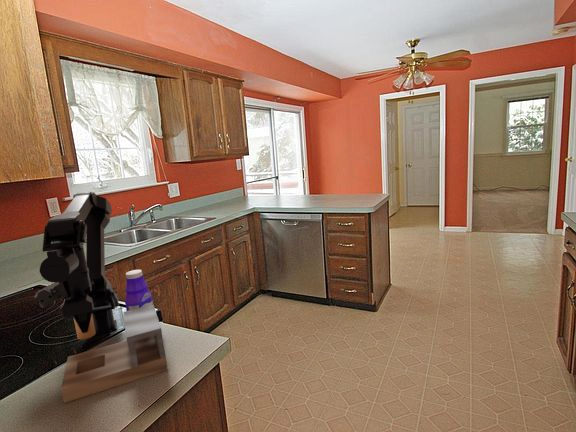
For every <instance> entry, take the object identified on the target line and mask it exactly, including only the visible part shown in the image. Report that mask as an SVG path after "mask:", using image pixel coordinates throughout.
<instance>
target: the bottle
mask: <svg viewBox="0 0 576 432" xmlns="http://www.w3.org/2000/svg"><path fill="white" fill-rule="evenodd" d="M125 278H126V279H125V280H126V285H125V289H124V291H125V292H126V296H125V299H124V304H125V309H126V311H130V310H134V309H138V308H142V307H146V306H150V305H154V302H153V297H152V293H151V290H150V289H149V288H148V286H149V285H148V283H147V282H146V281H145V279H144V275H143V271H142V269H133V270H130V271H127V272H126V273H125Z"/></svg>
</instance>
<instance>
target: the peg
mask: <svg viewBox="0 0 576 432" xmlns="http://www.w3.org/2000/svg"><path fill="white" fill-rule="evenodd" d="M72 318H73V321H74V326H75V332H76V337H77V339H78V340H86V339H89V338H92V337H94V335H95V334H96V331H95V326H94V321H93V316H92V315H91V320H90V324H89V328H88V332H86V333H82V331H81V329H80V328H79V326H78V324H77V322H76V321H75V319H74V317H73V316H72ZM95 336H96V335H95Z"/></svg>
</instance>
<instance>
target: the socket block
mask: <svg viewBox="0 0 576 432" xmlns="http://www.w3.org/2000/svg"><path fill="white" fill-rule="evenodd" d="M123 320H124V321H123V322H124V330H125V338H126V339H125V340H123V341H119V342H116V343H113V344H109V345H105V346H102V347H97V348H94V349H90V350H87V351H84V352H80V353H77V354H74V355H68V356H67V359H66V364H65V365H66V366H65V369H64V373H63V378H62V384H61V388H60V391H61V396H62V400H63V404H66V403H69V402H72V401H75V400H78V399H81V398H85V397H88V396H90V395H93V394H97V393H100V392H102V391H105V390H109V389H112V388H115V387H118V386H121V385H124V384H128V383H130V382H133V381H136V380H140V379H143V378H146V377H149V376H152V375H154V374H158V373H160V372H164V371H168V370H169V369H168V363H167V358H166V350H165V344H164V338H163V331H162V327H161V323H160V320H159V317H158V315H157V312H156V308H155V305H154V304H153V305H150V306H146V307H142V308H138V309H134V310H130V311H127V310H126V311H123Z"/></svg>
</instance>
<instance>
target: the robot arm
mask: <svg viewBox="0 0 576 432" xmlns="http://www.w3.org/2000/svg"><path fill="white" fill-rule="evenodd" d="M72 197H73V198H72V200H71V201H70V203H69V204H68V206H67V207H66V209H65V210H64V211H63V212H62V213H60V214H56V215H53V216H52V217H51V218H49V219H48V220H47V222H46V224H45V226H44V232H43V240H42V241H43V242H42V252H43V253H45V252H46V256H47V257H46V258H45V259H43V261H42V262H41V264H40V266H39V274H40V276H41V277H42V279H44V280H45V281H48V282H49V283H51V284H49V285H48V286H45V287H43V288H42V289H40V290H38V291H37V292H36V293H35V295H34V296H33V298H34V299H35V304H36V305H39V306H40V307H41V308H42V309H43V308H47V307H48V306H49V305H50V304H52V303H53V302H56V301H57V300H58V299H60V298H61V300H63V302H62V304H60V308H59V314H60V318H61V319H66V318H70V317H72V318H73V317H74V318H73V320H74V319H75V321H76V322H77V324H78V326H79V328H80V329H81V331H82V333H86V332H88V328H89V324H90V320H91V315H92V316H93V321H94V326H95V331H96V334H95V335H94V336H99V335H102V334H105V333H110V332H113V331H117V329H118V326H117V323H118V322H117V319H115V318H114V312H113V310H115V309H116V308H117V307H119V306H120V303H119V299H118V295H117V293H116V292H115V291H114V289H113V288H112V284H111V282H110V281H109V280H108V278H107V277H106V276H105V275H106V272H105V271H106V268H105V267H106V264H105V263H106V261H105V229H106V227H107V226H108V225H109V224H110V221H111V219H110V218H111V214H112V213H113V212H112V211H113V209H112V205H111V203H110V201H109V200H108V199H107V198H105V197H103V196H100V195H97V194H96V193H95V192H92V191H85V192H77V193H75V194H73V196H72ZM84 243H85V244H86V245H85V244H84ZM84 246H86V247H85V248H86V250H85V248H84ZM85 251H86V252H85ZM94 336H93V337H94Z"/></svg>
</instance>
